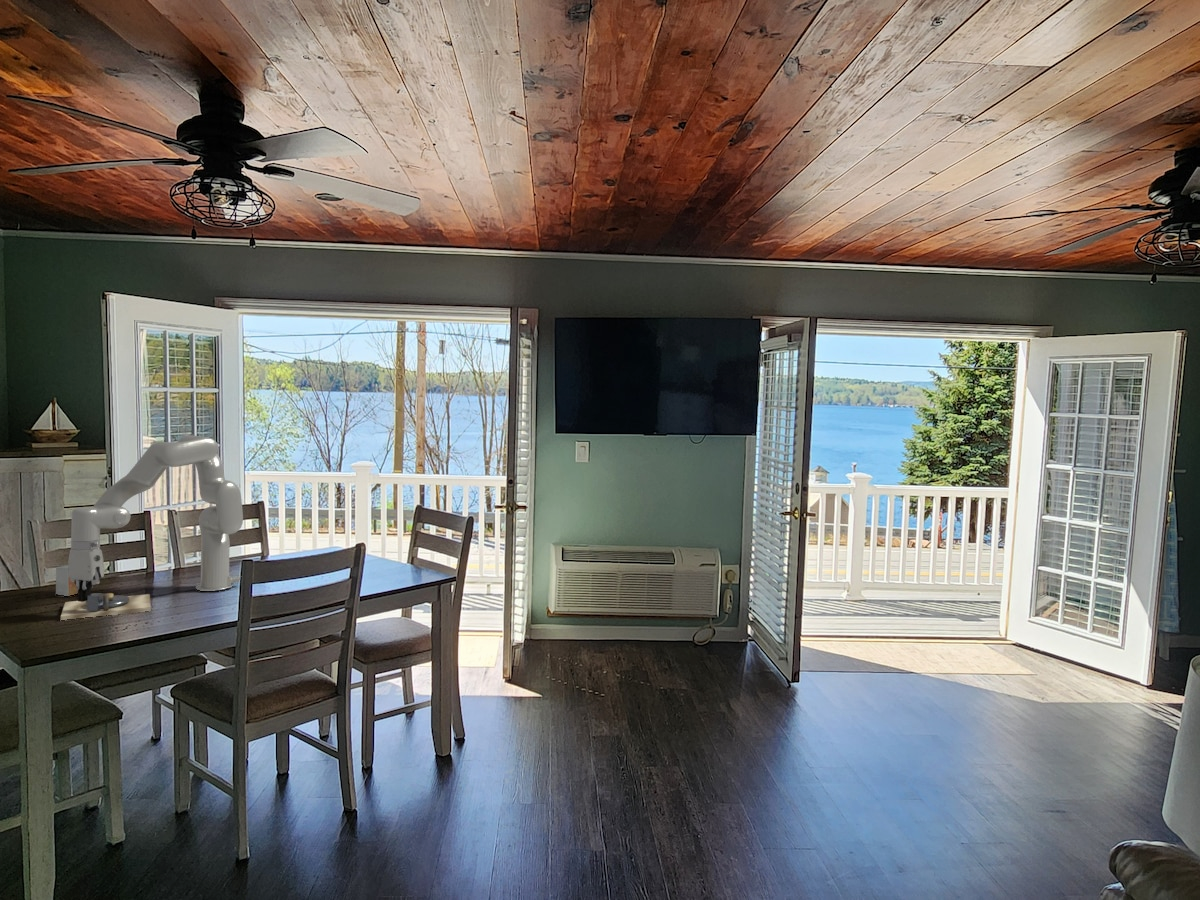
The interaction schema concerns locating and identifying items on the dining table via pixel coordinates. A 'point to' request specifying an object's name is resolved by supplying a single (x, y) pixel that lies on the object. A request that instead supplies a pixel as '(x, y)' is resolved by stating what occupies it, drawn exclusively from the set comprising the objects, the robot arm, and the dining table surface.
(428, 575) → the dining table surface
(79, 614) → the post board
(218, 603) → the dining table surface
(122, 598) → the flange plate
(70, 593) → the small box
